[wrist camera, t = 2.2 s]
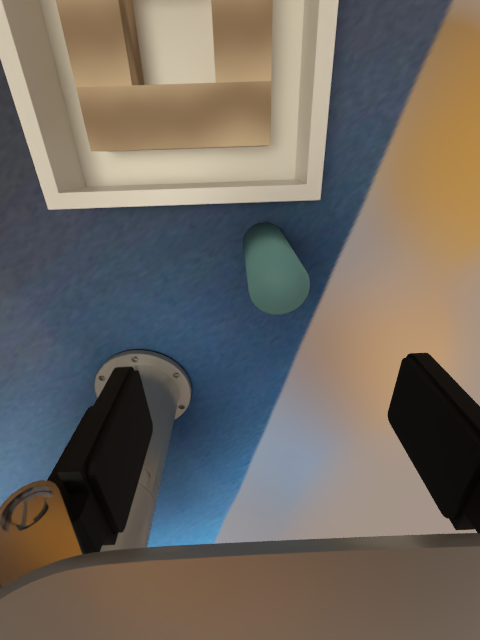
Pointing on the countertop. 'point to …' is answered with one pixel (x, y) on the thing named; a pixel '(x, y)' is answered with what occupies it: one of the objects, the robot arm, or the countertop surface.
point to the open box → (172, 68)
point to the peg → (273, 270)
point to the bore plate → (170, 99)
